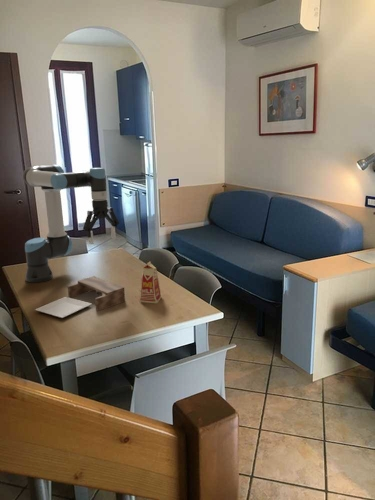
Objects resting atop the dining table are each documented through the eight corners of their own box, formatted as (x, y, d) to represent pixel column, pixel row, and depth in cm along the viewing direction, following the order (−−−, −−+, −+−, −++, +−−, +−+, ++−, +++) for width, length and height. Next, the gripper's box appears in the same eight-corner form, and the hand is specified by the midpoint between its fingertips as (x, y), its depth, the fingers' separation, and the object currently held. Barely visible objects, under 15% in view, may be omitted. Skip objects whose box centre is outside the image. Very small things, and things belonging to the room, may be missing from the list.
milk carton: (156, 303, 201) (155, 264, 195) (138, 302, 203) (136, 263, 197) (161, 296, 209) (160, 258, 204) (144, 295, 211) (142, 258, 206)
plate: (62, 321, 183) (62, 317, 182) (35, 313, 193) (34, 309, 192) (92, 307, 198) (92, 303, 198) (65, 300, 208) (65, 296, 207)
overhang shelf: (97, 310, 193) (96, 296, 191) (68, 296, 211) (67, 283, 209) (125, 301, 204) (124, 287, 202) (95, 288, 222) (94, 276, 220)
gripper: (81, 203, 192) (85, 247, 198) (124, 197, 210) (126, 237, 215) (73, 201, 198) (77, 244, 203) (115, 196, 215) (118, 235, 220)
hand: (102, 241), depth 209 cm, fingers open, 13 cm apart
